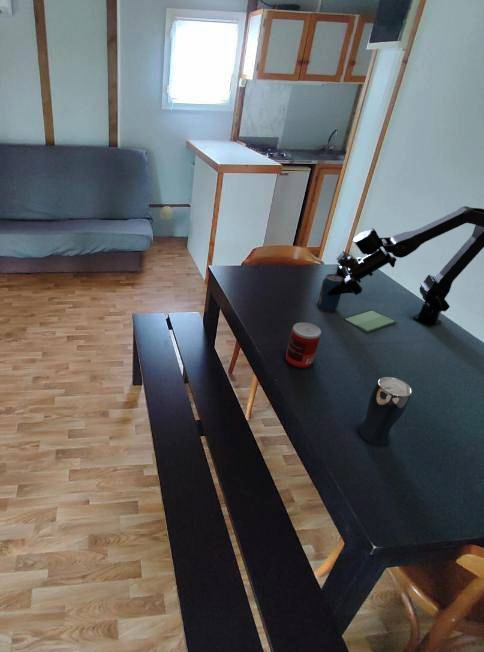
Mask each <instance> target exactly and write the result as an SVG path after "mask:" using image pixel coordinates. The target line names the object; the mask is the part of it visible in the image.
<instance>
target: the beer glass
mask: <svg viewBox="0 0 484 652" xmlns="http://www.w3.org/2000/svg"><path fill="white" fill-rule="evenodd" d="M412 393H413V389H412V388H411V386H410V385H409V384H408V383H407V382H405V381H404V380H402V379H399V378H396V377H392V376H383V377H380V378H379V379H378V381H377V383H376V385H375V387H374V388H373V390H372V393H371V395H370V397H369V400H368V406H367V411H366V412H367V413H366V417H365V420H364V421H363V423H362V424H361V425H360V426H359V429H358V433H359V436H360V437H361V438H362V439H363V440H365V441H366V442H368V443H370V444H373V445H377V446H379V445H380V446H381V445H384V444H386V443H387V442H388V438H389V433H390V430H391V429H392V427H393V426H394V425H395V424H396V422H397V421H398V420H399V419H400V418H401V416H402V415H403V413H404V412H405V410H406V408H407V406H408V404H409V401H410V398H411V395H412Z"/></svg>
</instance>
